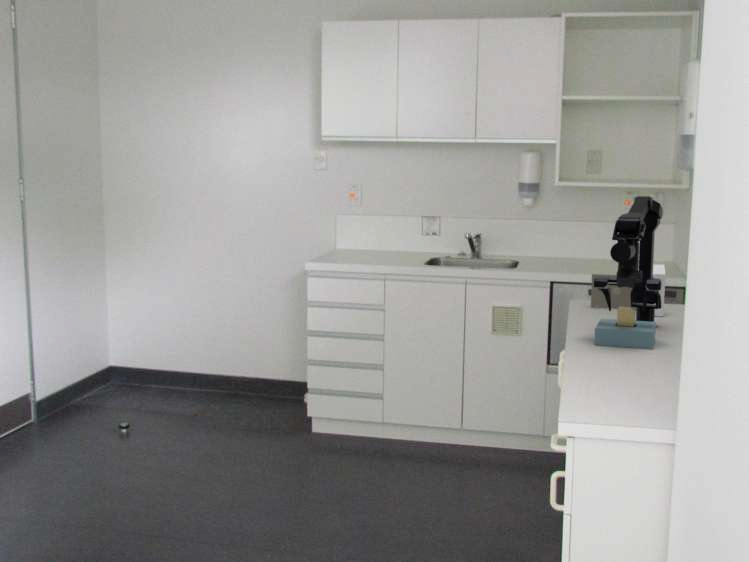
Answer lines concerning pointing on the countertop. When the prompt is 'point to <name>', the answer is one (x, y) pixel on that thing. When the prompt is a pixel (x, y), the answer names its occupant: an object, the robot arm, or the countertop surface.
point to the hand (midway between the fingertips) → (626, 311)
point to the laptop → (618, 295)
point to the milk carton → (660, 274)
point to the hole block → (625, 334)
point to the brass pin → (626, 317)
